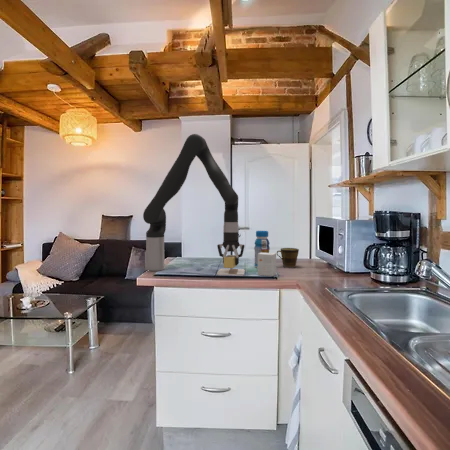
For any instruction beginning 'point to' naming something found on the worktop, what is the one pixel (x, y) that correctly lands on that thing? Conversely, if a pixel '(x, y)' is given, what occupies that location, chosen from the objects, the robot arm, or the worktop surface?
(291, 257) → the ceramic cup
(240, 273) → the floor panel
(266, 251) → the teal labeled canister
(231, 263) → the block
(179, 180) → the robot arm
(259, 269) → the small box
